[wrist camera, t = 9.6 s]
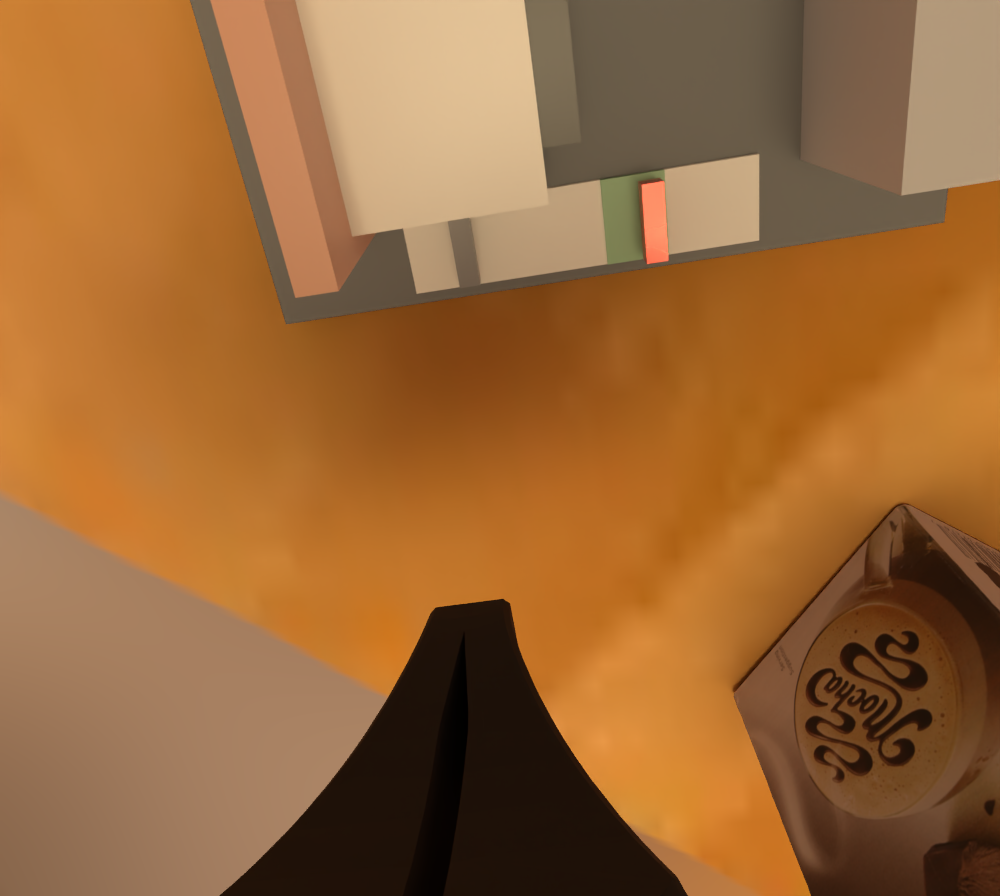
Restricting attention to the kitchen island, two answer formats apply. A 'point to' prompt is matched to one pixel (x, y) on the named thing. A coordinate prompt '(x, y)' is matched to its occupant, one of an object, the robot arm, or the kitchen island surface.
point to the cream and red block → (397, 118)
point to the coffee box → (890, 718)
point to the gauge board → (705, 141)
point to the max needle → (653, 220)
